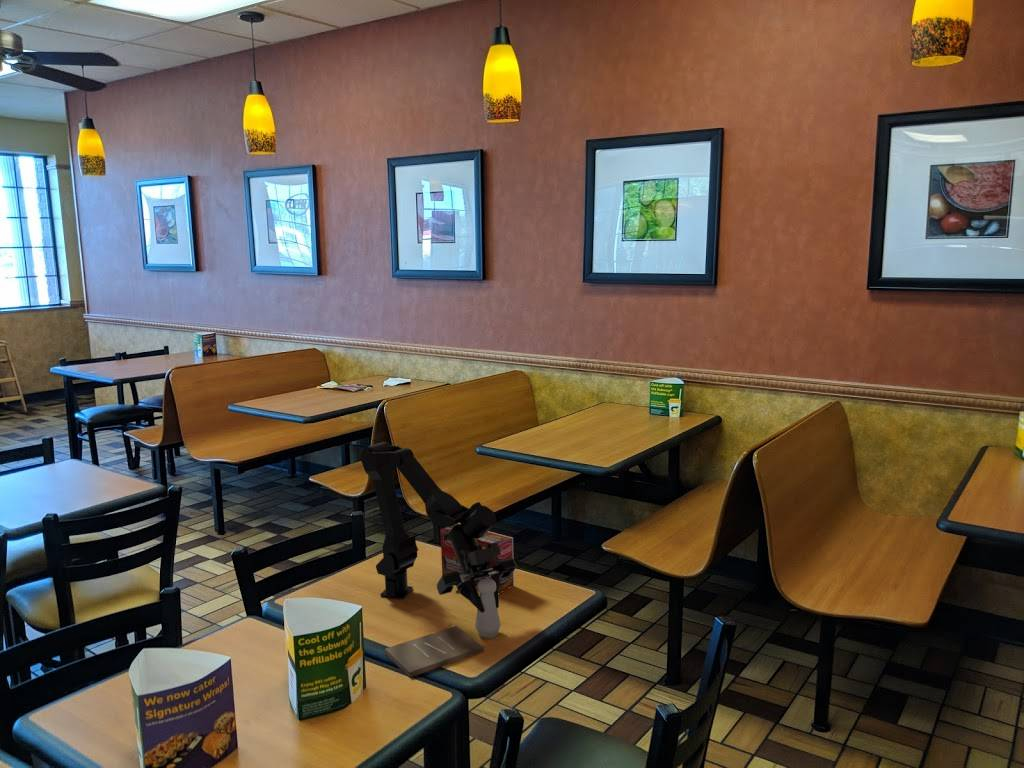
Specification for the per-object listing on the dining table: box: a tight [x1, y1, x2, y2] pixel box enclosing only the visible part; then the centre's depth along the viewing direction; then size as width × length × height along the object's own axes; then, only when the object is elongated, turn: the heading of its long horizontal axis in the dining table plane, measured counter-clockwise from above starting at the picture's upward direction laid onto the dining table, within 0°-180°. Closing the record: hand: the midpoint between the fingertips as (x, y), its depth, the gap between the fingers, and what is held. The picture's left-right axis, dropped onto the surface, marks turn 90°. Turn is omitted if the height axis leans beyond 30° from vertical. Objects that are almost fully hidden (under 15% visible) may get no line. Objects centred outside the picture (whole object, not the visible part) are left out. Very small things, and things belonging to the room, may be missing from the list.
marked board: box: [384, 625, 485, 678], centre depth 171 cm, size 18×12×1 cm, turn 124°
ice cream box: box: [439, 523, 515, 594], centre depth 207 cm, size 20×6×13 cm, turn 51°
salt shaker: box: [474, 579, 501, 640], centre depth 178 cm, size 6×6×13 cm
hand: (490, 609), depth 177 cm, fingers closed on salt shaker, 3 cm apart
